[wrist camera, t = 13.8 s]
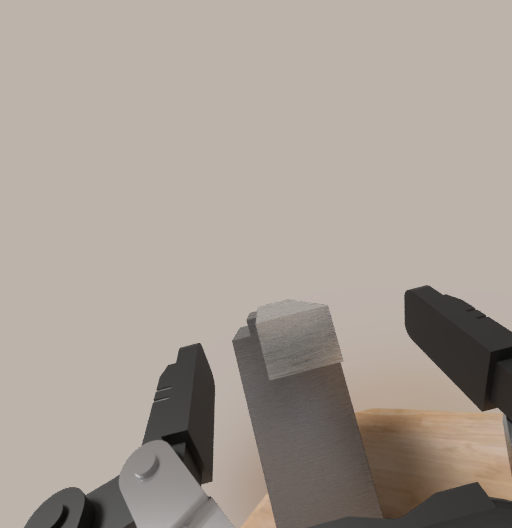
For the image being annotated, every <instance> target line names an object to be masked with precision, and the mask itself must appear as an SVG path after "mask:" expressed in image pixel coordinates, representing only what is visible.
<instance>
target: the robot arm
mask: <svg viewBox="0 0 512 528" xmlns="http://www.w3.org/2000/svg"><path fill="white" fill-rule="evenodd" d="M405 327H406V330H407V333H408V335H409V336H410V338H411V339H412V340H413V341H414V342H415V343H416V344H417V345H418V346H419V347H420V348H421V349H422V350H423V351H424V352H425V353H426V354H427V356H428V357H429V358H430V359H431V360H432V361H433V362H434V363H435V364H436V365H437V366H438V367H439V368H440V369H441V370H442V371H443V372H444V373H445V374H446V375H447V376H448V377H449V378H450V379H451V380H452V381H453V382H454V383H455V384H456V385H457V386H458V387H459V388H460V389H461V390H462V391H463V392H464V393H465V394H466V395H467V397H468V398H470V400H471V401H472V402H473V403H474V404H475V405H476V406H477V407H478V408H479V409H480V410H481V411H482V412H483V411H486V410H490V409H494V408H499V409H500V410H501V411H502V412H503V413H504V415H503V426H504V432H505V438H506V444H507V450H508V456H509V463H510V469H511V475H512V332H511V331H509V330H508V329H506V328H505V327H503V326H502V325H500V324H499V323H497V322H495V321H494V320H492V319H491V318H489V317H486V315H485V314H483V313H481V312H480V311H478V310H475V308H474V307H472V306H471V305H469V304H468V303H466V302H464V301H463V300H461V299H458V298H455V297H452V296H449V295H442V294H441V293H439V292H438V291H436V290H434V289H433V288H432V287H430V286H427V285H426V286H422V287H418V288H414V289H410V290H407V291H406V292H405ZM214 402H215V385H214V379H213V375H212V372H211V369H210V366H209V364H208V361H207V358H206V356H205V353H204V351H203V348H202V346H201V344H200V343H197V344H193V345H190V346H186V347H182V348H180V349H179V352H178V358H177V362H176V363H175V364H171V365H168V366H167V368H166V369H165V371H164V372H163V374H162V375H161V376H160V379H159V383H158V386H157V392H156V394H155V398H154V403H153V405H152V409H151V413H150V417H149V420H148V424H147V428H146V432H145V435H144V439H143V443H142V446H141V447H139V448H138V449H137V450H136V451H135V452H133V453H132V454H131V456H130V457H129V458H128V459H127V461H126V463H125V464H124V466H123V468H122V470H121V473H120V475H119V476H117V477H116V478H114V479H112V480H111V481H109V482H107V483H106V484H104V485H102V486H100V487H99V488H97V489H95V490H94V491H92V492H90V493H89V494H87V495H85V494H84V493H83V492H82V491H81V490H80V489H79V488H76V487H70V488H66V489H63V490H61V491H59V492H57V493H55V494H54V495H52V496H51V497H50V498H48V500H46V501H45V502H44V503H43V504H42V505H41V506H40V507H39V508H38V509H37V510H36V511H35V512H34V514H33V515H32V516H31V517H30V519H29V520H28V522H27V524H26V525H25V527H24V528H235V527H234V526H233V524H232V523H231V522H230V520H229V519H228V518H227V516H226V515H225V514H224V512H223V511H222V510H221V508H220V507H219V506H218V504H217V503H216V502H215V501H214V499H213V498H212V497H208V496H207V494H206V493H205V492H204V490H203V489H202V488H201V484H205V483H208V482H212V474H213V473H212V472H213V438H214ZM307 528H512V501H509V500H505V499H499V498H493V497H489V496H488V495H487V494H486V493H485V491H484V490H483V489H482V487H481V486H480V485H479V483H478V482H475V483H471V484H468V485H464V486H460V487H457V488H453V489H449V490H445V491H442V492H438V493H435V494H434V495H432V496H431V497H429V498H428V499H427V500H425V501H424V502H423V503H421V504H420V505H418V506H417V507H416V508H414V509H413V510H411V511H410V512H409V513H407V514H406V515H404V516H403V517H401V518H398V519H384V518H367V517H350V516H348V517H344V518H341V519H337V520H333V521H329V522H326V523H322V524H318V525H314V526H311V527H307Z"/></svg>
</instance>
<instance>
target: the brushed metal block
mask: <svg viewBox="0 0 512 528" xmlns="http://www.w3.org/2000/svg"><path fill="white" fill-rule="evenodd" d="M256 328H257V332H258V336H259V340H260V344H261V348H262V352H263V356H264V360H265V364H266V368H267V372H268V376H269V380H273V379H277V378H281V377H284V376H288V375H292V374H296V373H300V372H304V371H308V370H311V369H315V368H319V367H323V366H327V365H331V364H335V363H338V362H342V361H343V358H342V354H341V351H340V347H339V344H338V340H337V336H336V333H335V329H334V326H333V322H332V318H331V315H330V311H329V308H328V305H323V304H316V303H309V302H302V301H295V300H288V299H287V300H283V301H280V302H276V303H272V304H268V305H264V306H260V307H258V310H257V317H256Z"/></svg>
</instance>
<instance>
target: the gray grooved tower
mask: <svg viewBox="0 0 512 528" xmlns="http://www.w3.org/2000/svg"><path fill="white" fill-rule="evenodd" d="M256 317H257V311H256V312H252V313H250V314H249V316H248V318H247V324H248V326H245V327H242V328H240V329H239V330H238V332H237V334H236V335H235V337H234V339H233V340H232V342H233V346H234V351H235V355H236V359H237V363H238V368H239V372H240V376H241V380H242V384H243V389H244V393H245V397H246V401H247V405H248V410H249V414H250V418H251V422H252V426H253V431H254V435H255V439H256V443H257V447H258V451H259V456H260V460H261V464H262V468H263V472H264V477H265V481H266V485H267V489H268V493H269V498H270V502H271V506H272V510H273V514H274V519H275V523H276V527H277V528H307V527H311V526H314V525H318V524H322V523H326V522H329V521H333V520H337V519H341V518H344V517H348V516H350V517H367V518H383V514H382V511H381V507H380V503H379V500H378V496H377V493H376V489H375V485H374V482H373V478H372V475H371V471H370V467H369V464H368V460H367V457H366V453H365V449H364V446H363V442H362V439H361V435H360V431H359V428H358V424H357V421H356V417H355V413H354V410H353V406H352V403H351V399H350V396H349V392H348V388H347V385H346V381H345V377H344V374H343V370H342V367H341V363H340V362H338V363H335V364H331V365H327V366H323V367H319V368H315V369H311V370H308V371H304V372H300V373H296V374H292V375H288V376H284V377H281V378H277V379H273V380H269V376H268V372H267V368H266V364H265V360H264V356H263V352H262V348H261V344H260V340H259V336H258V332H257V328H256Z"/></svg>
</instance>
